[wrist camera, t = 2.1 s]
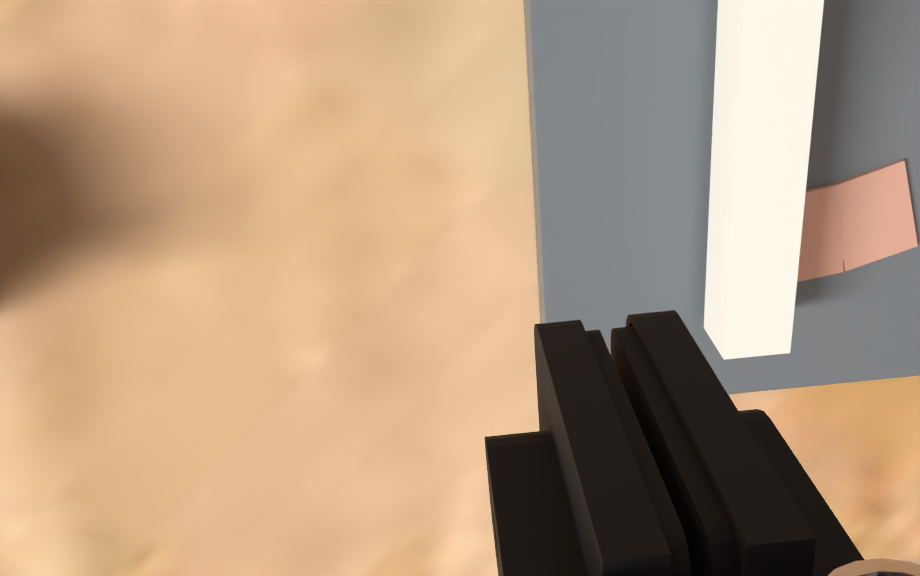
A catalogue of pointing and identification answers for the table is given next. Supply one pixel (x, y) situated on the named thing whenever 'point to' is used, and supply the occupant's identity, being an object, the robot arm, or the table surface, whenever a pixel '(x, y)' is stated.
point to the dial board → (688, 181)
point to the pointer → (759, 171)
